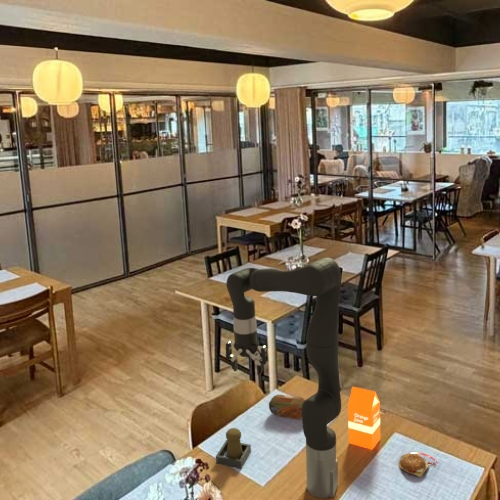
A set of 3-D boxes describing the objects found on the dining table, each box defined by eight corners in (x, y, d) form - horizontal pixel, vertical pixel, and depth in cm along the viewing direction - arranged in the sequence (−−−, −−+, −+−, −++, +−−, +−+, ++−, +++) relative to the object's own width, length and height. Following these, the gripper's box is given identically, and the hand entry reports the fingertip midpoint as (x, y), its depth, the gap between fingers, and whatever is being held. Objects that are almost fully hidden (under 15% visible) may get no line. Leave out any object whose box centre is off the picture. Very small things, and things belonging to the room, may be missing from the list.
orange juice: (357, 432, 199) (356, 382, 194) (380, 439, 194) (380, 387, 189) (348, 443, 192) (347, 391, 188) (372, 450, 187) (371, 396, 183)
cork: (244, 452, 190) (243, 425, 187) (242, 464, 184) (240, 436, 181) (227, 452, 191) (225, 425, 188) (224, 463, 185) (222, 436, 182)
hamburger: (430, 488, 170) (431, 472, 168) (389, 470, 179) (389, 454, 177) (447, 464, 180) (448, 448, 178) (407, 447, 189) (408, 433, 187)
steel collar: (251, 452, 190) (250, 444, 189) (241, 469, 182) (240, 461, 181) (226, 447, 194) (226, 439, 193) (216, 463, 185) (215, 456, 184)
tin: (269, 415, 210) (268, 396, 208) (271, 411, 213) (270, 392, 211) (307, 420, 206) (307, 401, 204) (309, 415, 209) (308, 396, 206)
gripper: (220, 330, 178) (223, 374, 183) (261, 335, 173) (263, 380, 178) (229, 321, 185) (232, 363, 189) (269, 325, 180) (271, 369, 184)
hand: (247, 372), depth 184 cm, fingers open, 8 cm apart
